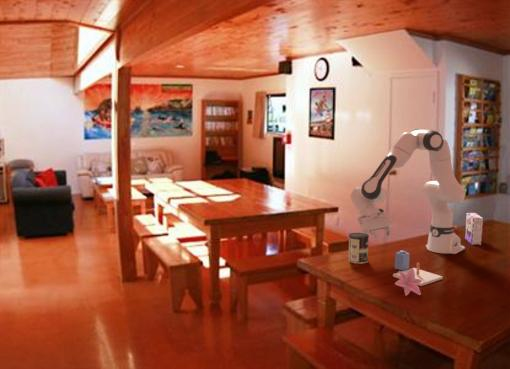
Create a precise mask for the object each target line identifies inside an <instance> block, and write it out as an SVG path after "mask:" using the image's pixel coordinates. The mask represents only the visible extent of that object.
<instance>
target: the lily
mask: <svg viewBox="0 0 510 369" xmlns="http://www.w3.org/2000/svg"><path fill="white" fill-rule="evenodd" d="M413 268H414V267H411V268H409V269H410V270H409V272H408V273H407V274H405V273H403V272H402V270H399V271H398V272H399V274H400V276H401V278H402V279H398V280H397V281H395V283H394V285H396V286H399V287H402V290H404V295H405V296H408V295H409V294H410V292H413V293H415V294H417V295H419V296H421V295H422V293H421V290H420V287H419V285H418V284H419V283H421V282H422V281H421V280H419V279H416V278H415V272H414V269H413Z"/></svg>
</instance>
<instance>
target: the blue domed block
mask: <svg viewBox="0 0 510 369" xmlns="http://www.w3.org/2000/svg"><path fill="white" fill-rule="evenodd" d="M394 256H395V257H394V258H395V259H394V269H395V270H399V271H401V272H402V271H405V270H408V269H410V253H409V252H407V251H406V250H399V251H396V252H395V254H394Z"/></svg>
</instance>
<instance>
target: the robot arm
mask: <svg viewBox="0 0 510 369" xmlns="http://www.w3.org/2000/svg"><path fill="white" fill-rule="evenodd" d="M417 149H418V150H422V151H427V152H428V157H429V158H428V159H429V166H430V167H429V168H430V173H431V175H432V176H433V177H434V178H435V179H436V180H429V181H427V182H426V183H424V185H423V188H422V193H423V194H424V196H425V197H426V199H427V201H428V203H429V206H430V209H431V210H430V211H431V224H430V226H429V229H430V230H429V231H430V232H429V233H428V239H427V244H425V248H426V249H427V250H428V251H429V252H433V253H437V254H452V255H456V254H458V253H460V252H462V251H464V250H465V249H466V247H465V246H464V245H462V242H461V241H462V240H461V238H460V236H458V235H457V234H456V233H455V231H457V228H458V227H457V226H455V225H453V221H454V217H453V216H454V214H453V210H451V209H450V207H449V205H448V204H460V203H462V202H463V200H465V197H466V190H465V189H464V187H463V186H462V185H461V184H460V182H458V180H457V177H456V176H455V173H454V171H453V165H452V157H451V156H452V154H451V150H450V146H449V142H448V140H446V139H445V138H443V136H442V134H441V133H440V132H439V131H437V130H432V129H427V128H423V129H422V128H416V129H413V130H411V131H410V132H408V131H405V132H403V133H402V134H400V136H399V137H398V138H397V139H396V141H395V142H394V143H393V145H392V146H391V148H390V150H389V152H388V153H387V154H386V156H385V157H384V159H383V160H382V161H381V163H380V164H379V166H378V167H377V168H376V169H375V171H374V172H373V174H372V175H371V176H370V177H369V178H368V179H367V180H365V181H364V182H363V183H362V184H361V186H358V187H356V188H354V189H353V190H352V191H351V192H350V200H351V202H352V204H353V206H354V207H355V208H356V210H358V214H359V216H358V217H357V221H358V224H359V227H360V229H361V231H362V233H365V234H368V233H370V235H371V236H373V238H375V239H376V240H377V239H379V238H380V235H379V233H376V232H377V231H381V230H385V231H386V235H387V236H388V237H389V236H391V235H392V232H391V227H392V226H393V221H392V219H391V218H390V217H389V215H388V214H387V213H386V210H385V209H384V208H379V207H376V205H378V204H381V203H382V202H384V200H386V197H387V191H386V190H385V188H384V187H383V183H384V181H385V180H386V179H387V177H388V175H389V174H390V173H391V171H393V170H394V169H399V168H400V169H401V168H403V167H404V166H405V165H406V164H407V163H408V162H409V160H410V158H412V156H413V153H414V152H415V151H416V150H417Z"/></svg>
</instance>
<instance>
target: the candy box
mask: <svg viewBox="0 0 510 369" xmlns="http://www.w3.org/2000/svg"><path fill="white" fill-rule="evenodd" d="M483 223H484V217H482V216H481V215H479V214H478V213H476V212H466V215H465V236H464V239H465V240H466V241H467V242H468V243H469V244H470V245H472V246H474V245H476V246H482V238H483V226H484V224H483Z"/></svg>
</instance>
